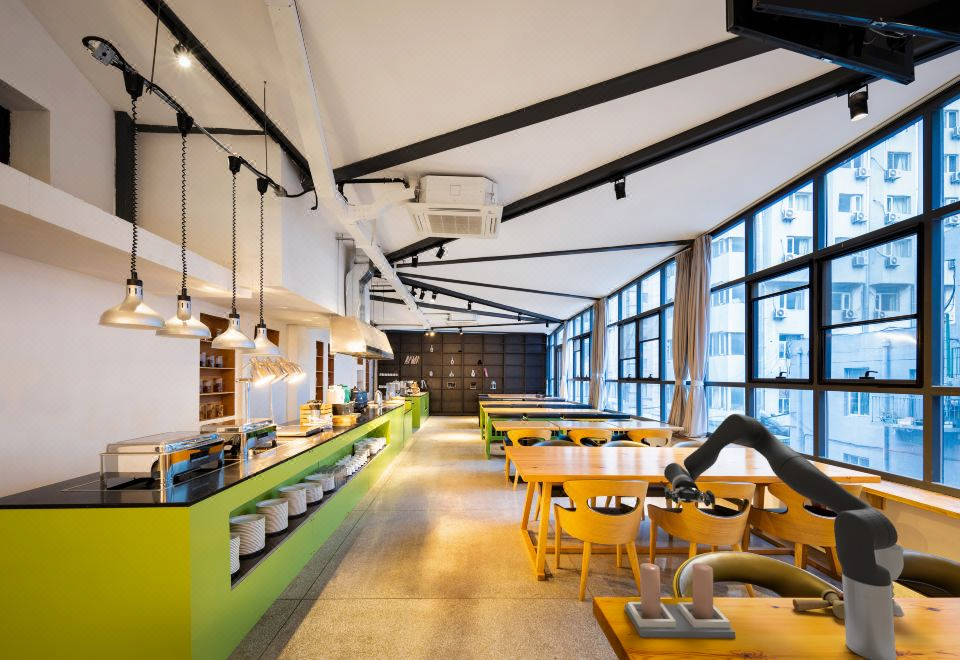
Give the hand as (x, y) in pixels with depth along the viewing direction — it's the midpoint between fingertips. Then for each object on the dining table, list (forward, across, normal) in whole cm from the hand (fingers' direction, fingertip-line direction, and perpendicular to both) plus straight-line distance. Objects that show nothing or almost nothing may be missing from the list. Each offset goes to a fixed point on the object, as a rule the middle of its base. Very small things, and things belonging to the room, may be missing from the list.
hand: (692, 501), depth 137 cm
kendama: (-2, +35, +28) cm, 45 cm away
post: (+14, 0, +26) cm, 30 cm away
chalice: (-9, +52, +28) cm, 60 cm away
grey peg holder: (+16, -7, +28) cm, 33 cm away
